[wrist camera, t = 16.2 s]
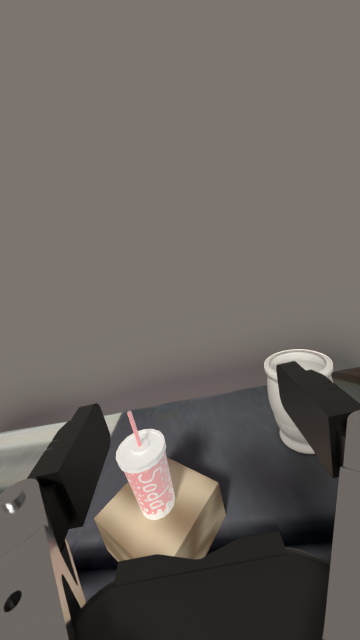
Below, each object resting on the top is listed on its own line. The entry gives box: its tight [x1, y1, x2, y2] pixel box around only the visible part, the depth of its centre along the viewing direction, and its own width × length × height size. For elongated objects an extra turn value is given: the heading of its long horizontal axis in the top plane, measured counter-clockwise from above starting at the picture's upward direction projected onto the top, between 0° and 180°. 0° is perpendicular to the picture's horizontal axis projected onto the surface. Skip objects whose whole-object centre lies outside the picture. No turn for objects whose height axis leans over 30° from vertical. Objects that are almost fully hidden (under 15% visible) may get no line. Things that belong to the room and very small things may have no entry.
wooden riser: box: [94, 457, 226, 562], centre depth 33 cm, size 12×12×6 cm
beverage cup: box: [116, 411, 175, 520], centre depth 30 cm, size 6×6×14 cm
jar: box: [264, 349, 333, 454], centre depth 42 cm, size 11×10×15 cm
